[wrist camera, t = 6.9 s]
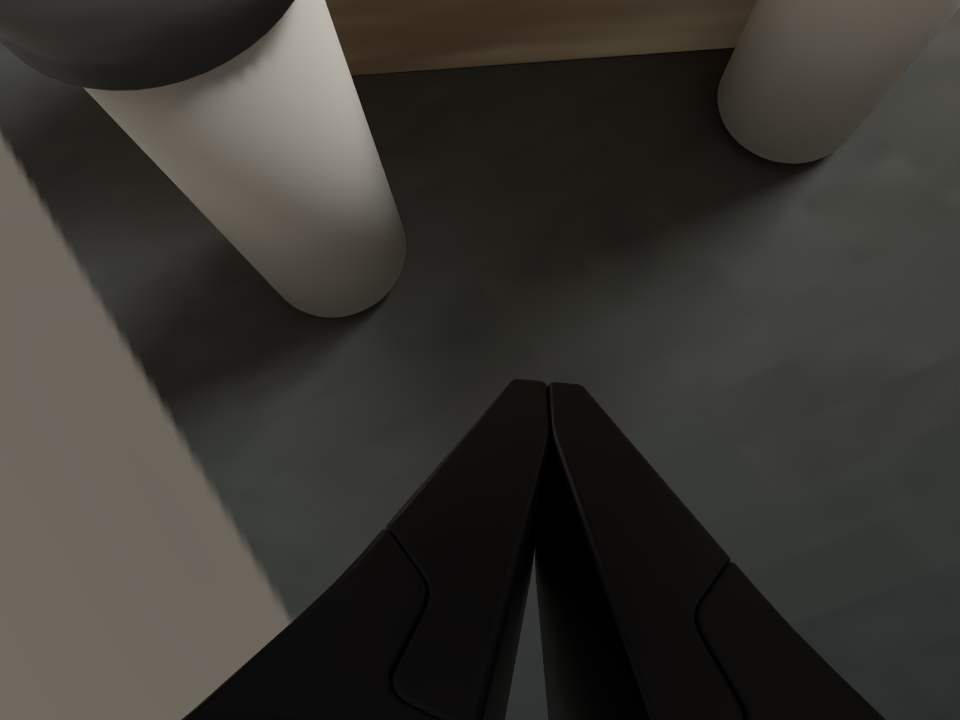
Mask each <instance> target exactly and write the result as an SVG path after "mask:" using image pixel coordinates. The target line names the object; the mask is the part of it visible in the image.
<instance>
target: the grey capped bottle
mask: <svg viewBox="0 0 960 720" xmlns="http://www.w3.org/2000/svg"><path fill="white" fill-rule="evenodd" d="M0 42H1V43H2V44H3V45H4V46H5V47H6V48H7V49H8V50H9V51H10V52H11V53H12V54H14V55H15V56H16V57H18V58H19V59H20V60H21V61H23V62H24V63H25V64H27V65H28V66H30V67H32V68H33V69H35V70H37V71H39V72H41V73H42V74H44V75H46V76H49V77H51V78H54V79H57V80H59V81H62V82H64V83H68V84H72V85H76V86H80V87H83V88H84V89H85V90H86V91H87V92H88V93H89V94H90V95H91V96H92V97H93V98H94V99H95V100H96V102H97V103H98V104H99V105H100V106H101V107H102V108H103V109H104V110H105V111H106V112H107V113H108V114H109V115H110V116H111V117H112V118H113V119H114V120H115V121H116V123H117V124H118V125H119V126H120V127H121V128H122V129H123V130H124V131H125V132H126V133H127V134H128V135H129V136H130V137H131V138H132V139H133V140H134V141H135V143H136V144H137V145H138V146H139V147H140V148H141V149H142V150H143V151H144V152H145V153H146V154H147V155H148V156H149V157H150V158H151V159H152V160H153V161H154V163H155V164H156V165H157V166H158V167H159V168H160V169H161V170H162V171H163V172H164V173H165V174H166V175H167V176H168V177H169V178H170V179H171V180H172V181H173V183H174V184H175V185H176V186H177V187H178V188H179V189H180V190H181V191H182V192H183V193H184V194H185V195H186V196H187V197H188V198H189V199H190V200H191V201H192V203H193V204H194V205H195V206H196V207H197V208H198V209H199V210H200V211H201V212H202V213H203V214H204V215H205V216H206V217H207V218H208V219H209V220H210V221H211V223H212V224H213V225H214V226H215V227H216V228H217V229H218V230H219V231H220V232H221V233H222V234H223V235H224V236H225V237H226V238H227V239H228V240H229V241H230V243H231V244H232V245H233V246H234V247H235V248H236V249H237V250H238V251H239V252H240V253H241V254H242V255H243V256H244V257H245V258H246V259H247V260H248V261H249V263H250V264H251V265H252V266H253V267H254V268H255V269H256V270H257V271H258V272H259V273H260V274H261V275H262V276H263V277H264V278H265V279H266V280H267V281H268V283H269V284H270V285H271V286H272V287H273V288H274V289H275V290H276V291H277V292H278V293H279V294H280V295H281V296H282V297H283V298H284V299H285V300H286V301H287V302H288V303H289V304H291V305H292V306H294V307H295V308H297V309H299V310H300V311H303V312H305V313H308V314H311V315H315V316H319V317H344V316H349V315H353V314H356V313H359V312H361V311H364V310H366V309H367V308H369V307H371V306H373V305H374V304H376V303H377V302H378V301H380V300H381V299H382V298H383V297H384V296H385V295H386V294H387V293H388V292H389V291H390V290H391V289H392V288H393V286H394V285H395V283H396V282H397V280H398V278H399V276H400V274H401V272H402V269H403V266H404V263H405V258H406V247H407V244H406V236H405V232H404V228H403V225H402V222H401V219H400V216H399V213H398V210H397V207H396V205H395V202H394V199H393V196H392V193H391V190H390V187H389V184H388V181H387V178H386V176H385V173H384V170H383V167H382V164H381V161H380V158H379V155H378V152H377V150H376V147H375V144H374V141H373V138H372V135H371V132H370V129H369V126H368V123H367V121H366V118H365V115H364V112H363V109H362V106H361V103H360V100H359V97H358V95H357V92H356V89H355V86H354V83H353V80H352V77H351V74H350V71H349V68H348V66H347V63H346V60H345V57H344V54H343V51H342V48H341V45H340V42H339V40H338V37H337V34H336V31H335V28H334V25H333V22H332V19H331V16H330V13H329V11H328V8H327V5H326V2H325V0H0Z"/></svg>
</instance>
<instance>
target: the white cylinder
mask: <svg viewBox="0 0 960 720" xmlns="http://www.w3.org/2000/svg"><path fill="white" fill-rule="evenodd" d="M959 7H960V0H757V1H756V3H755V6H754V8H753V10H752V12H751V14H750V16H749V19H748V21H747V23H746V25H745V27H744V29H743V32H742V34H741V36H740V38H739V40H738V43H737V45H736V47H735V49H734V51H733V53H732V56H731V58H730V60H729V62H728V64H727V67H726V69H725V71H724V73H723V75H722V78H721V80H720V83H719V87H718V95H717V100H718V108H719V113H720V116H721V118H722V121H723V123H724V125H725V127H726V128H727V130H728V131H729V133H730V134H731V135H732V137H733V138H734V139H735V140H736V141H737V142H738V143H739V144H741V145H742V146H743V147H744V148H746V149H747V150H749V151H750V152H752V153H754V154H756V155H758V156H760V157H762V158H765V159H768V160H771V161H775V162H780V163H806V162H811V161H815V160H818V159H820V158H823V157H825V156H827V155H829V154H831V153H833V152H834V151H835V150H837V149H838V148H839V147H840V146H841V145H842V144H843V143H844V142H845V141H846V140H847V139H848V138H849V137H850V135H851V134H852V133H853V132H854V131H855V130H856V128H857V127H858V126H859V125H860V124H861V123H862V121H863V120H864V119H865V118H866V117H867V115H868V114H869V113H870V112H871V111H872V110H873V108H874V107H875V106H876V105H877V104H878V102H879V101H880V100H881V99H882V98H883V97H884V95H885V94H886V93H887V92H888V91H889V89H890V88H891V87H892V86H893V85H894V84H895V82H896V81H897V80H898V79H899V78H900V76H901V75H902V74H903V73H904V72H905V71H906V69H907V68H908V67H909V66H910V65H911V63H912V62H913V61H914V60H915V59H916V58H917V56H918V55H919V54H920V53H921V52H922V50H923V49H924V48H925V47H926V46H927V45H928V43H929V42H930V41H931V40H932V39H933V38H934V36H935V35H936V34H937V33H938V32H939V30H940V29H941V28H942V27H943V26H944V25H945V23H946V22H947V21H948V20H949V19H950V17H951V16H952V15H953V14H954V13H955V12H956V10H957V9H958V8H959Z"/></svg>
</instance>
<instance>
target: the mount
mask: <svg viewBox="0 0 960 720" xmlns="http://www.w3.org/2000/svg"><path fill="white" fill-rule="evenodd" d="M756 1H757V0H325V2H326V5H327V8H328V11H329V13H330V16H331V19H332V22H333V25H334V28H335V31H336V34H337V37H338V40H339V42H340V45H341V48H342V51H343V54H344V57H345V60H346V63H347V66H348V68H349V71H350V74H351V76H352V75H366V74H379V73H393V72H407V71H420V70H434V69H448V68H461V67H475V66H489V65H502V64H516V63H530V62H543V61H557V60H571V59H584V58H598V57H612V56H625V55H639V54H653V53H666V52H680V51H694V50H707V49H721V48H735V47H736V45H737V43H738V40H739V38H740V36H741V34H742V32H743V29H744V27H745V25H746V23H747V21H748V19H749V16H750V14H751V12H752V10H753V8H754V6H755V3H756Z"/></svg>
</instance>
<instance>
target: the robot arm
mask: <svg viewBox="0 0 960 720" xmlns="http://www.w3.org/2000/svg"><path fill="white" fill-rule="evenodd" d="M534 551H535V570H536V584H537V596H538V607H539V618H540V630H541V641H542V652H543V664H544V675H545V686H546V698H547V709H548V720H886V719H885V718H884V717H883V716H882V715H880V714H879V713H878V712H877V711H876V710H875V709H874V708H873V707H872V706H871V705H870V704H869V703H868V702H867V701H866V700H865V699H864V698H863V697H862V696H861V695H860V694H859V693H858V692H857V691H856V690H855V689H853V688H852V687H851V686H850V685H849V684H848V683H847V682H846V681H845V680H844V679H843V678H842V677H841V676H840V675H839V674H838V673H837V672H836V671H835V670H834V669H833V668H832V667H831V666H830V665H829V664H828V663H827V662H826V661H825V660H824V659H823V658H822V657H821V656H820V655H819V654H818V653H817V652H816V651H815V650H814V649H813V648H812V647H811V646H810V645H809V644H808V643H807V642H806V641H805V640H804V639H803V638H802V637H801V636H800V635H799V634H798V633H797V632H796V631H795V630H794V629H793V628H792V627H791V626H790V625H789V624H788V623H787V621H786V620H785V619H784V618H783V617H782V616H781V615H780V614H779V613H778V612H777V610H776V609H775V608H774V607H773V606H772V605H771V604H770V603H769V602H768V600H767V599H766V598H765V597H764V596H763V595H762V594H761V593H760V592H759V591H758V589H757V588H756V587H755V586H754V585H753V584H752V583H751V581H750V580H749V579H748V578H747V577H746V576H745V574H744V573H743V572H742V571H741V570H740V569H739V567H738V566H737V565H736V564H735V563H733V562H731V563H730V557H729V556H728V555H727V554H726V553H725V551H724V550H723V549H722V548H721V547H720V546H719V544H718V543H717V542H716V541H715V540H714V539H713V537H712V536H711V535H710V534H709V533H708V532H707V530H706V529H705V528H704V527H703V526H702V525H701V523H700V522H699V521H698V520H697V519H696V518H695V516H694V515H693V514H692V513H691V512H690V511H689V509H688V508H687V507H686V506H685V505H684V504H683V502H682V501H681V500H680V499H679V498H678V497H677V495H676V494H675V493H674V492H673V491H672V490H671V488H670V487H669V486H668V485H667V484H666V483H665V481H664V480H663V479H662V478H661V477H660V476H659V474H658V473H657V472H656V471H655V470H654V469H653V467H652V466H651V465H650V464H649V463H648V462H647V460H646V459H645V458H644V457H643V456H642V455H641V453H640V452H639V451H638V450H637V449H636V448H635V446H634V445H633V444H632V443H631V442H630V441H629V439H628V438H627V437H626V436H625V435H624V434H623V432H622V431H621V430H620V429H619V428H618V427H617V425H616V424H615V423H614V422H613V421H612V420H611V418H610V417H609V416H608V415H607V414H606V413H605V411H604V410H603V409H602V408H601V407H600V405H599V404H598V403H597V402H596V401H595V400H594V398H593V397H592V396H591V395H590V394H589V393H588V391H587V390H586V389H585V388H584V387H583V386H581V385H579V384H569V383H557V382H553V383H550V384H549V385H548V387H547V385H546V384H545V383H544V382H542V381H534V380H523V379H515V380H512V381H511V382H510V383H509V385H508V386H507V387H506V388H505V389H504V390H503V392H502V393H501V394H500V395H499V396H498V397H497V398H496V400H495V401H494V402H493V403H492V404H491V405H490V407H489V408H488V409H487V410H486V411H485V412H484V413H483V415H482V416H481V417H480V418H479V419H478V420H477V422H476V423H475V424H474V425H473V426H472V427H471V428H470V430H469V431H468V432H467V433H466V434H465V435H464V437H463V438H462V439H461V440H460V441H459V442H458V443H457V445H456V446H455V447H454V448H453V449H452V450H451V452H450V453H449V454H448V455H447V456H446V457H445V458H444V460H443V461H442V462H441V463H440V464H439V465H438V467H437V468H436V469H435V470H434V471H433V472H432V473H431V475H430V476H429V477H428V478H427V479H426V480H425V482H424V483H423V484H422V485H421V486H420V487H419V488H418V490H417V491H416V492H415V493H414V494H413V495H412V497H411V498H410V499H409V500H408V501H407V502H406V503H405V505H404V506H403V507H402V508H401V509H400V510H399V512H398V513H397V514H396V515H395V516H394V517H393V518H392V520H391V521H390V522H389V523H388V524H387V525H386V529H384V530H382V531H381V532H380V533H379V534H378V535H377V536H376V538H375V539H374V540H373V541H372V542H371V543H370V545H369V546H368V547H367V548H366V549H365V550H364V552H363V553H362V554H361V555H360V556H359V557H358V558H357V559H356V560H355V561H354V562H353V563H352V564H351V565H350V567H349V568H348V569H347V570H346V571H345V572H344V573H343V574H342V575H341V576H340V577H339V578H338V579H337V580H336V582H335V583H334V584H333V585H331V586H330V587H329V588H328V589H327V590H326V591H325V592H324V593H323V594H322V595H321V596H320V597H319V598H318V599H317V600H315V601H314V602H313V603H312V604H311V605H310V606H309V607H308V608H307V609H306V610H305V611H304V612H303V613H302V614H300V615H299V616H298V617H297V618H296V619H295V620H294V621H293V622H292V623H291V624H289V625H288V626H287V627H286V628H285V629H284V630H283V631H282V632H280V633H279V634H278V635H277V636H276V637H275V638H274V639H273V640H271V641H270V642H269V643H268V644H267V645H266V646H265V647H264V648H262V649H261V650H260V651H259V652H258V653H257V654H256V655H255V656H254V657H252V658H251V659H250V660H249V661H248V662H247V663H246V664H244V665H243V666H242V667H241V668H240V669H239V670H238V671H237V672H235V673H234V674H233V675H232V676H231V677H230V678H229V679H228V680H226V681H225V682H224V683H223V684H222V685H221V686H220V687H218V688H217V689H216V690H215V691H214V692H213V693H212V694H211V695H210V696H208V697H207V698H206V699H205V700H204V701H203V702H202V703H201V704H199V705H198V706H197V707H196V708H195V709H194V710H192V711H191V712H190V713H189V714H188V715H186V716H185V717H184V718H183V719H182V720H505V715H506V710H507V704H508V699H509V693H510V688H511V682H512V677H513V671H514V666H515V660H516V655H517V649H518V644H519V639H520V633H521V628H522V622H523V617H524V611H525V606H526V600H527V595H528V589H529V584H530V578H531V572H532V565H533V558H534Z"/></svg>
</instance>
